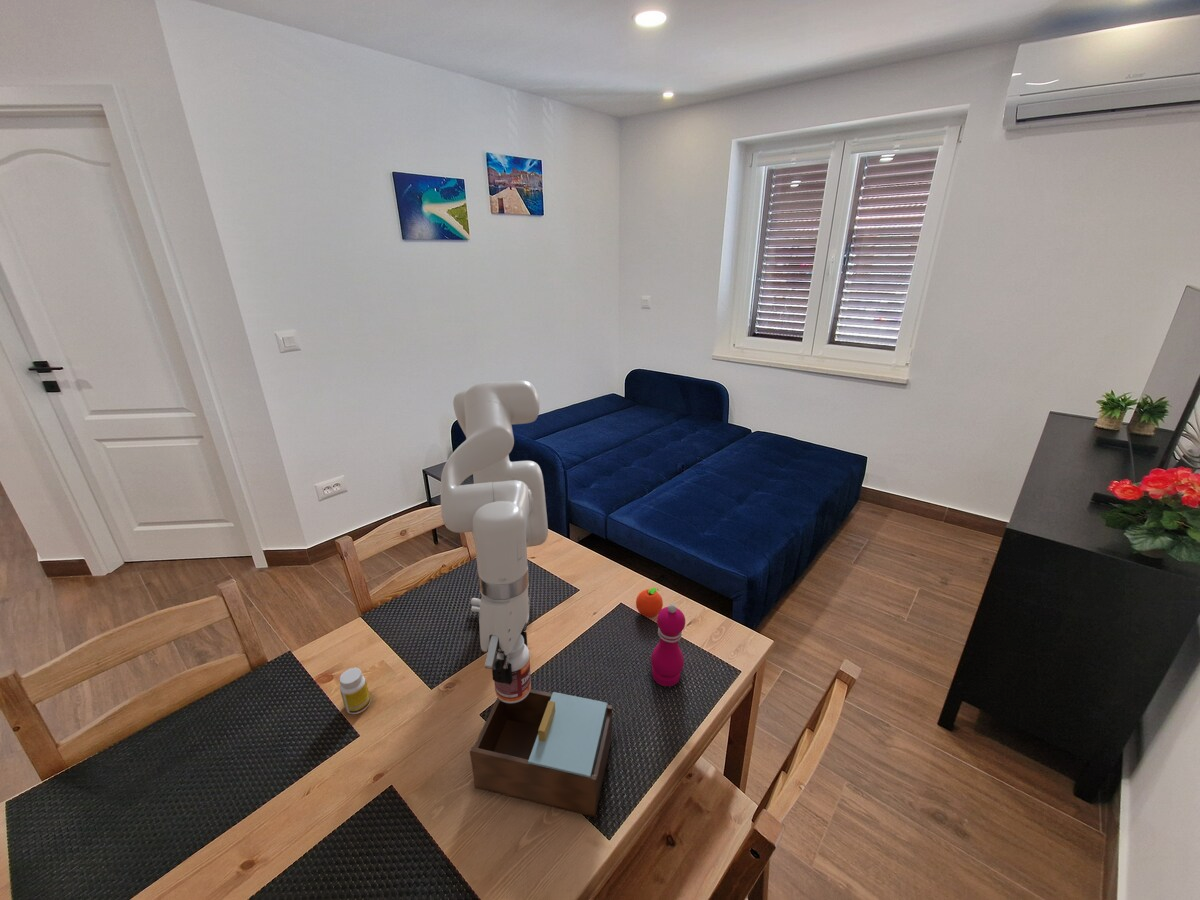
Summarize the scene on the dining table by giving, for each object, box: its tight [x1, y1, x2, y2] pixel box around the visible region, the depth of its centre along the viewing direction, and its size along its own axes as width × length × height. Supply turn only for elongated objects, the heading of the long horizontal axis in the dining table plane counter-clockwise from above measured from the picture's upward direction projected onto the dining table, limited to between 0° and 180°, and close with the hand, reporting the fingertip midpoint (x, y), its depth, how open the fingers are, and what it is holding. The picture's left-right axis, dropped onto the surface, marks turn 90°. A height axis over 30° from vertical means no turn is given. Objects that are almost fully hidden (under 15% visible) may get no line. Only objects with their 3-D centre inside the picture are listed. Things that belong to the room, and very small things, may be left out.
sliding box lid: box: [528, 691, 608, 778], centre depth 85 cm, size 11×14×3 cm
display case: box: [469, 688, 613, 818], centre depth 88 cm, size 22×14×10 cm, turn 78°
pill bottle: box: [493, 634, 532, 703], centre depth 82 cm, size 6×6×11 cm
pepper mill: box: [650, 603, 686, 687], centre depth 105 cm, size 7×7×20 cm
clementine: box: [635, 587, 664, 618], centre depth 126 cm, size 8×7×7 cm
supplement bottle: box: [339, 667, 371, 715], centre depth 99 cm, size 5×5×8 cm
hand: (510, 663), depth 82 cm, fingers closed on pill bottle, 6 cm apart
